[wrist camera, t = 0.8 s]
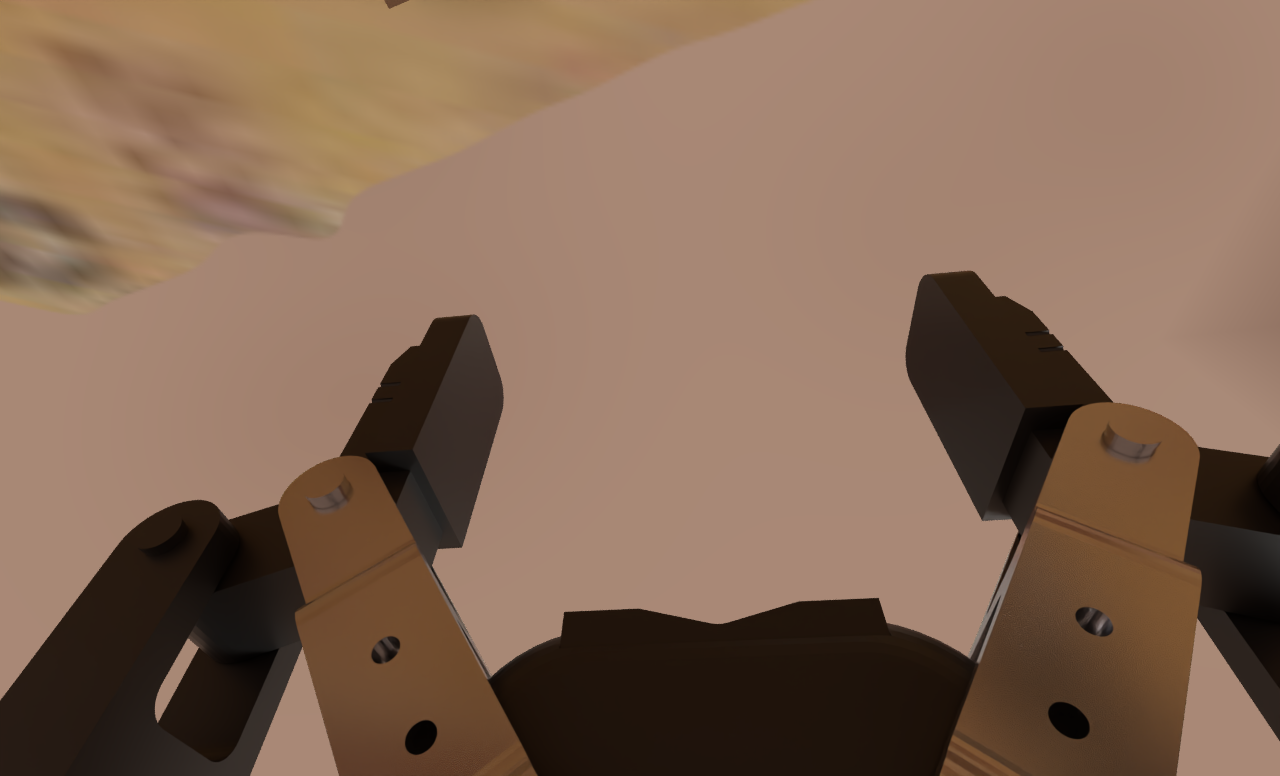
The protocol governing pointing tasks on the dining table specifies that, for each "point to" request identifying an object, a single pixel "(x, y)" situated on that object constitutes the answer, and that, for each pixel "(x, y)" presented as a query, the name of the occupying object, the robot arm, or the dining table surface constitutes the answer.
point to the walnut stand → (394, 2)
